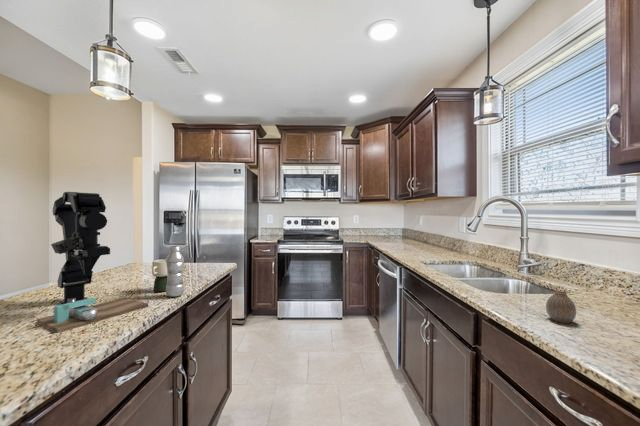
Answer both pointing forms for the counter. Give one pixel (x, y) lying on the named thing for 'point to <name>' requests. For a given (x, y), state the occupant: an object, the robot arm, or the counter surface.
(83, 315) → the link
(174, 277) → the plastic bottle
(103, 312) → the board
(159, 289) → the character mug
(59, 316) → the keeper
